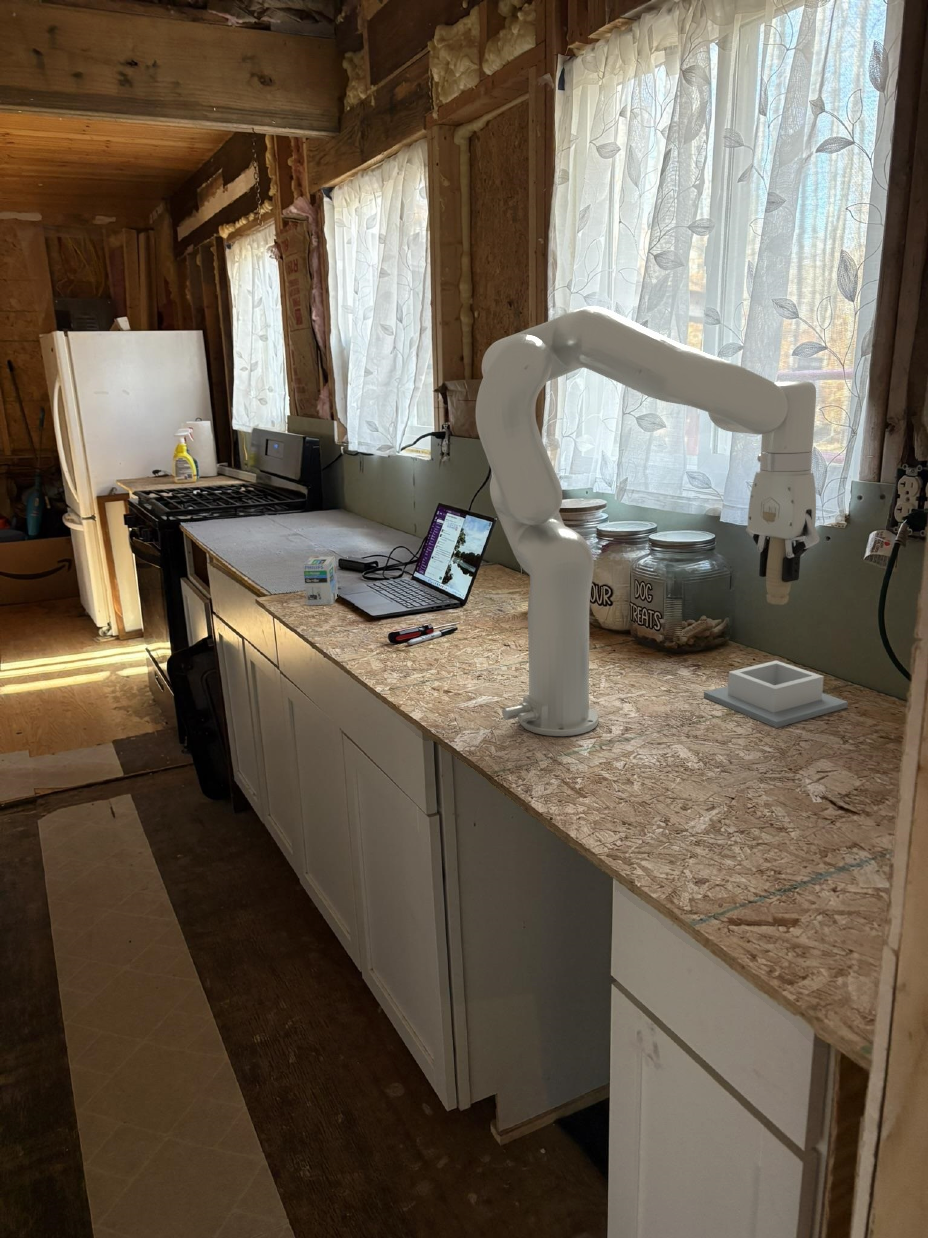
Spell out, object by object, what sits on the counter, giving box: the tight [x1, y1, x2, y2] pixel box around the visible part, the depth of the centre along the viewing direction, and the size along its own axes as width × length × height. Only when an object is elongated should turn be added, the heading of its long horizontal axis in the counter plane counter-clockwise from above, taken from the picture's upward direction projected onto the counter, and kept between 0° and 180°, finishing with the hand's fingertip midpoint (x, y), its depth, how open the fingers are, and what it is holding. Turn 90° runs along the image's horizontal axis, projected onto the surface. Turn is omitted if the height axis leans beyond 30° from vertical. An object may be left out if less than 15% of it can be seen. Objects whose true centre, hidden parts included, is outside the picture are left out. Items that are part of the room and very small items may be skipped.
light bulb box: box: [303, 555, 339, 606], centre depth 223 cm, size 11×7×11 cm, turn 179°
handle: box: [763, 512, 792, 606], centre depth 140 cm, size 5×6×15 cm
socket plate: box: [703, 660, 849, 729], centre depth 145 cm, size 16×16×5 cm
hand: (778, 577), depth 140 cm, fingers closed on handle, 3 cm apart
